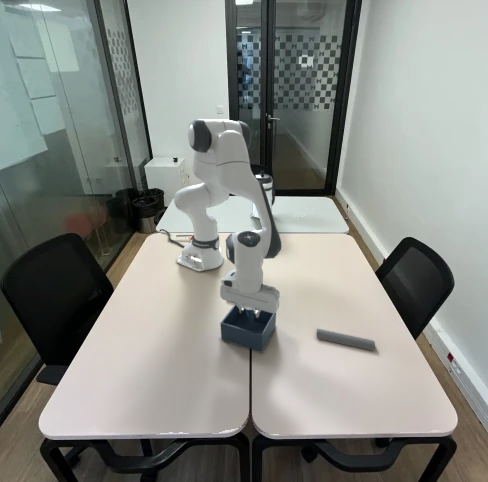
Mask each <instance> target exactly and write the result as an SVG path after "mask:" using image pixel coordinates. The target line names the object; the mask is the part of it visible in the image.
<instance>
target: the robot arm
mask: <svg viewBox="0 0 488 482" xmlns="http://www.w3.org/2000/svg"><path fill="white" fill-rule="evenodd" d="M187 130H188V131H187V138H188V139H187V140H188V143H189V146H190V148H191V149H192V150H193V151H194V153H193V164H192V172H193V175H194V176H195V178H197V179H198V180H200V181H201V182H200V183H197V184H193V185H189V186H188V185H187V186H185V187H183V188H180V189H179V190H177V191H176V192H175V194H174V198H173V201H174V205H175V207H176V209H177V210H178V211H179V212H181V213H182V214H184V215H186V216H187V217H188V218H189V219H190V222H191V225H192V230H193V234H192V235H191V236H190V238H189V241H188V243H187V244H186V245H184V244H182V243H180V242H178V241H176V240H173V239H172V238H171V233H170V231H167V230H166V229H163V228H161V229H159V232H162V231H163V232H165V233H166V234H168V240H169V241H171V242H172V243H173V244H177V245H179V246H180V247H182V249H181V254H179V256H178V257H177V259H176V263H177V264H179V265H182V266H183V267H186V268H188V269H191V270H194V271H195V272H200V273H201V272H203V271H207V270H208V271H209V270H214V269H217V268H219V267H220V266H221V265H223V263H224V259H223V256H222V254H221V253H222V252H221V251H222V250H221V247H220V242H221V241H220V234H219V228H218V227H219V225H218V221H217V218H216V217H215V216H213V215H211V214H208V213H207V209H211V208H214V207H218V206H220V205H222V204H223V203H225V202H227V201H228V200H229V198H230V194H231V195H233V196H236V197H240V198H243V199H245V200H248V201H250V202H251V203H252V202H253V203H254V205H255V206H256V209H257V212H258V215H259V218H258V219H259V223H260V225H261V228H260V229H254V230H243V231H235V232H232V233H230V234H229V235H228V236H227V237H226V239H225V255H226V258H227V260H228V261H229V262H230V263H232V264H233V265H235V269H231V270H229V271H227V272H226V273H225V275H224V276H223V277H222V278H221V280H220V281H221V282H220V283H221V285H220V287H219V296H220V298H221V299H222V300H223V301H226V302H230V303H234V304H235V303H236V305H237V307H238V308H239V312H240V313H242V314H244V311H243V305H245V306H248V307H252V308H255V309H257V310H256V311H255V312H254V317H256V318H258V317H259V313H260V312H261V310H262V311H266V312H269V313H275V312H276V313H277V311H278V310H279V308H280V297H281V293H280V290H279V289H277V288H276V287H275V286H271V285H267V284H264V270H263V265H264V260H265V259H269V260H270V259H275V258H276V257H277V256H278V255H279V254H280V252H281V251H282V249H283V247H282V238H281V236H280V233H279V230H278V229H277V225H276V222H275V219H274V215H273V211H272V212H271V208H270V205H269V201H268V198H267V195H266V192H265V189H264V187H263V184H262V183H261V182H260V181H258V180H257V179H256V178H255V177H254V176H255V174H254V173H253V171H252V168H251V162H250V157H249V152H248V151H249V148H250V146H251V143H252V132H251V131H252V130H251V129H250V126H249V125H248V123H245V122H243V121H240V120H237V121H236V120H230V119H224V118H220V119H217V118H216V119H212V118H211V119H210V118H209V119H203V118H198V119H193V120H192V121H191V122H190V124H189V126H188V129H187Z"/></svg>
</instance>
